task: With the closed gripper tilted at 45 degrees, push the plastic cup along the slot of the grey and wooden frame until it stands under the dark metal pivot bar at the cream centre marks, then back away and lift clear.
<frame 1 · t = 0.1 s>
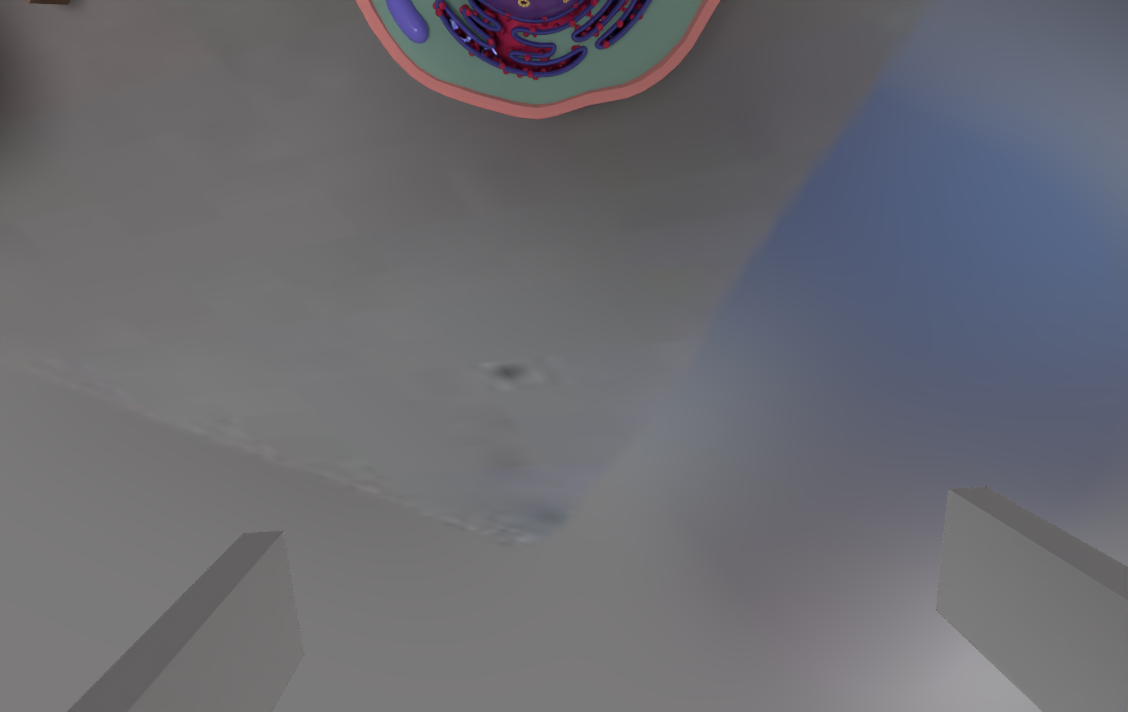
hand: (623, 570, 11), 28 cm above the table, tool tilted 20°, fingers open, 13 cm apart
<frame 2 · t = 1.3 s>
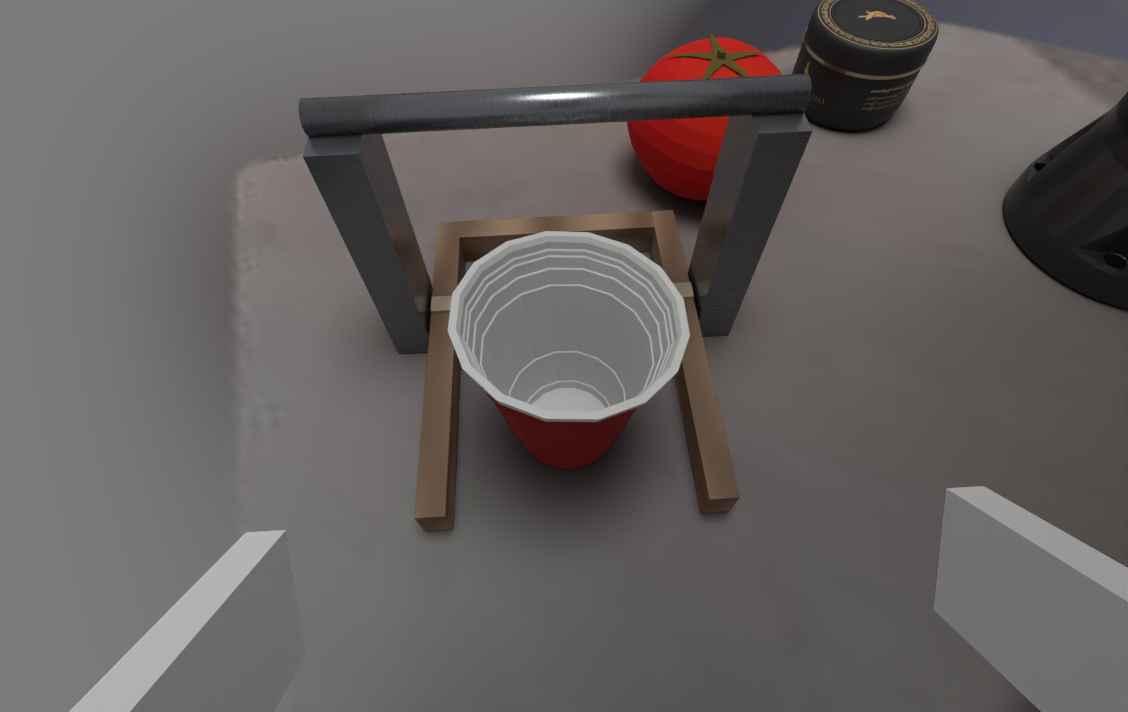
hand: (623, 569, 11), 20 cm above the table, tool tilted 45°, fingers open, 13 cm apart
grey and wooden frame: (562, 320, 39), on the table
tomato: (696, 178, 47), on the table
plastic cup: (570, 426, 35), on the table
jar: (838, 104, 52), on the table
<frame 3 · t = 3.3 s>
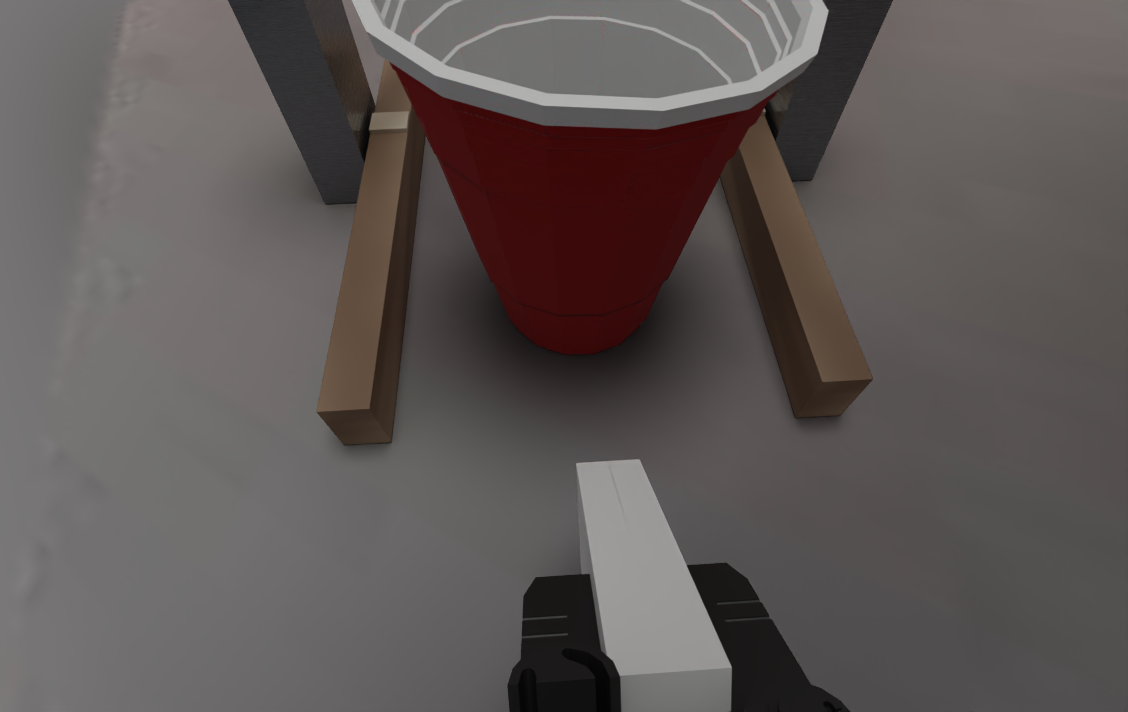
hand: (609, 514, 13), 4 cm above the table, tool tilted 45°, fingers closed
grey and wooden frame: (568, 163, 27), on the table
plastic cup: (581, 297, 23), on the table
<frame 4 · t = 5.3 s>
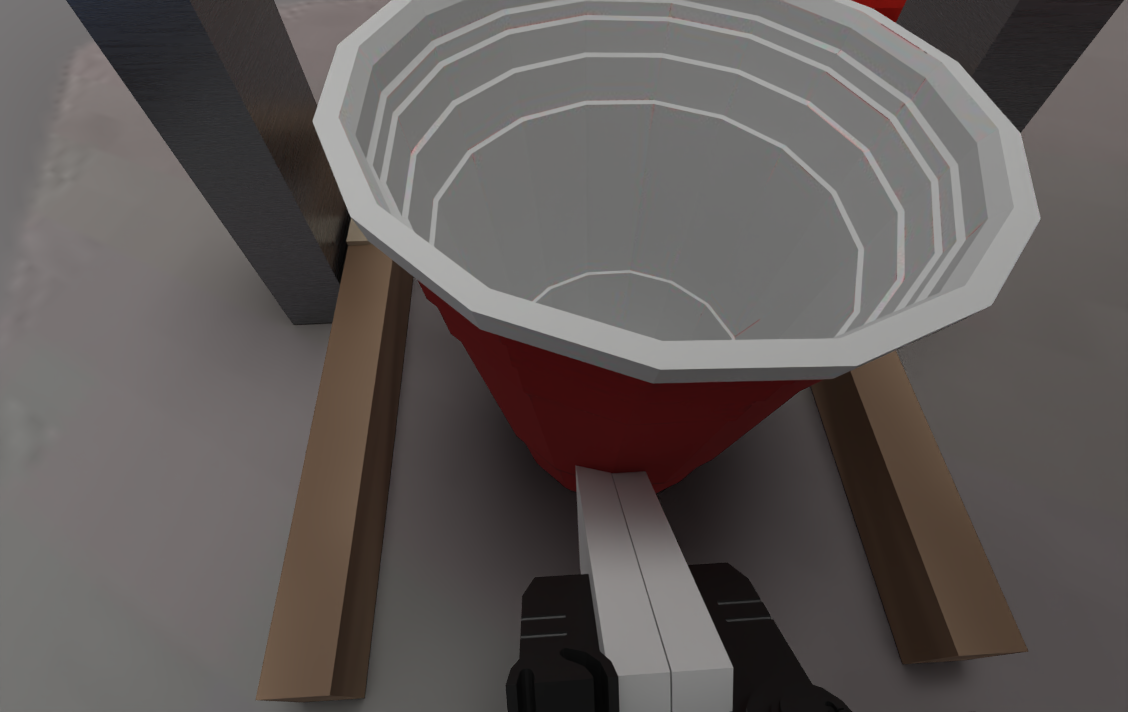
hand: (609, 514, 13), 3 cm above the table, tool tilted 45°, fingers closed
grey and wooden frame: (592, 269, 22), on the table
tomato: (795, 63, 30), on the table
plastic cup: (617, 417, 19), on the table, touching gripper
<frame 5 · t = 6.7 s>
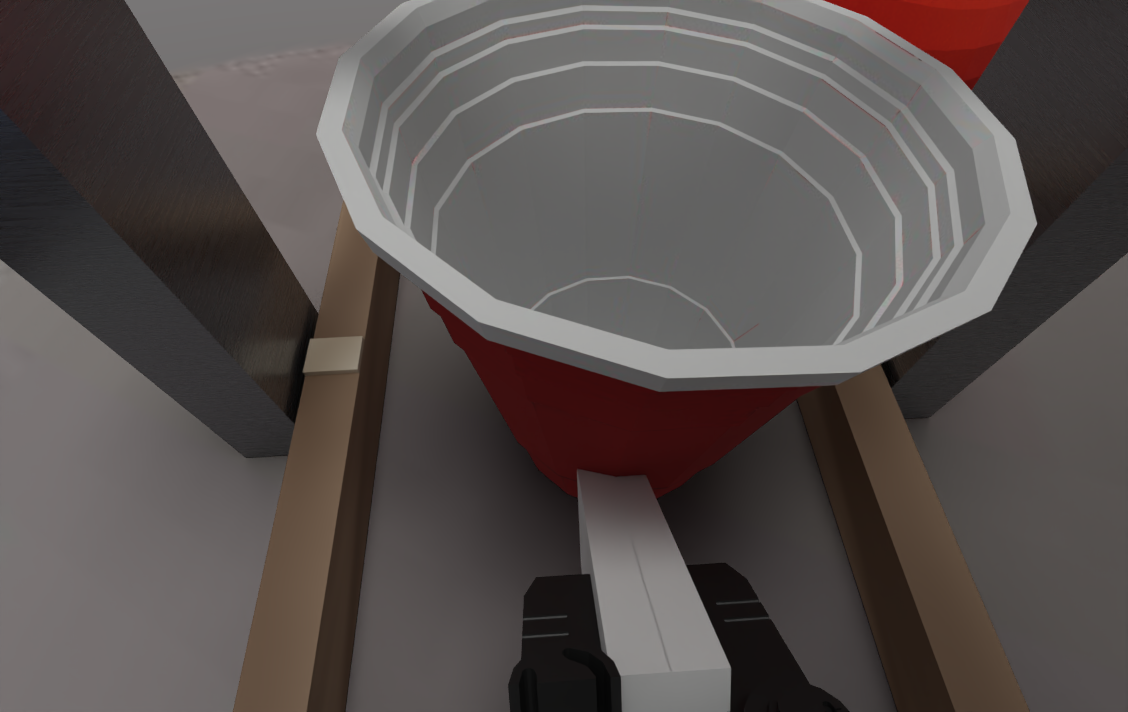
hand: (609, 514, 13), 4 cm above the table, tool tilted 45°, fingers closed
grey and wooden frame: (588, 383, 19), on the table
tomato: (808, 124, 28), on the table
plastic cup: (617, 422, 19), on the table, touching gripper
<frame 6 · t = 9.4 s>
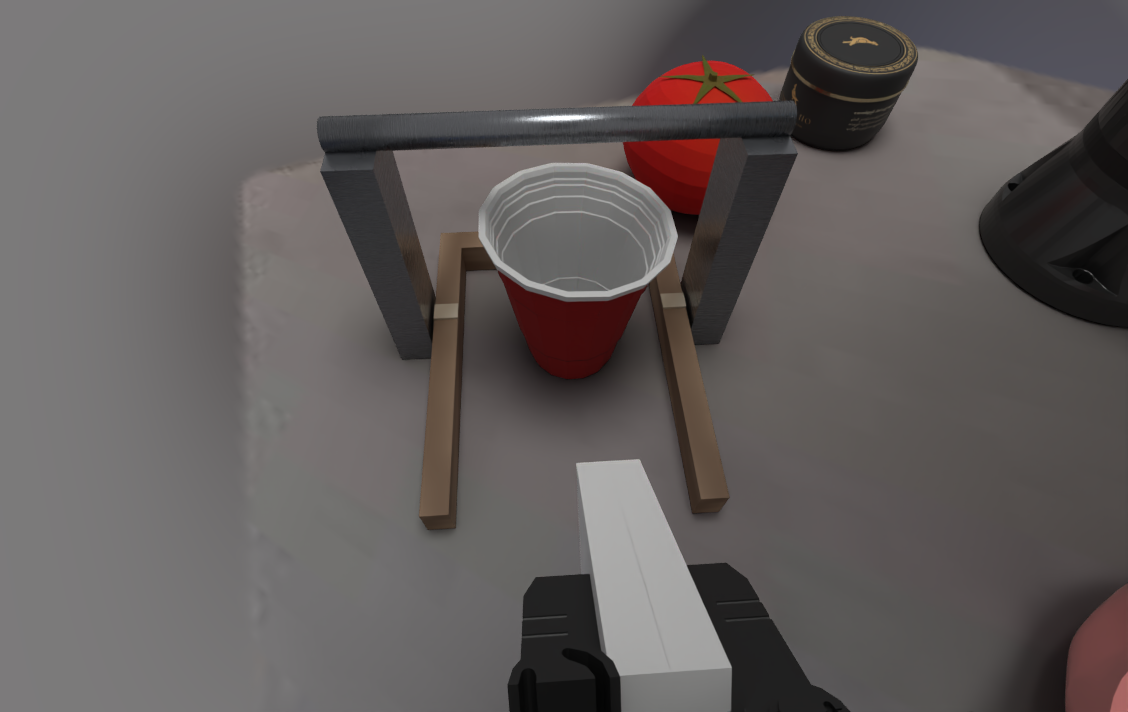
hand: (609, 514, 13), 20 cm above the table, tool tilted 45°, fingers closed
grey and wooden frame: (560, 328, 41), on the table
tomato: (688, 193, 49), on the table
plastic cup: (573, 345, 40), on the table
jar: (824, 124, 55), on the table
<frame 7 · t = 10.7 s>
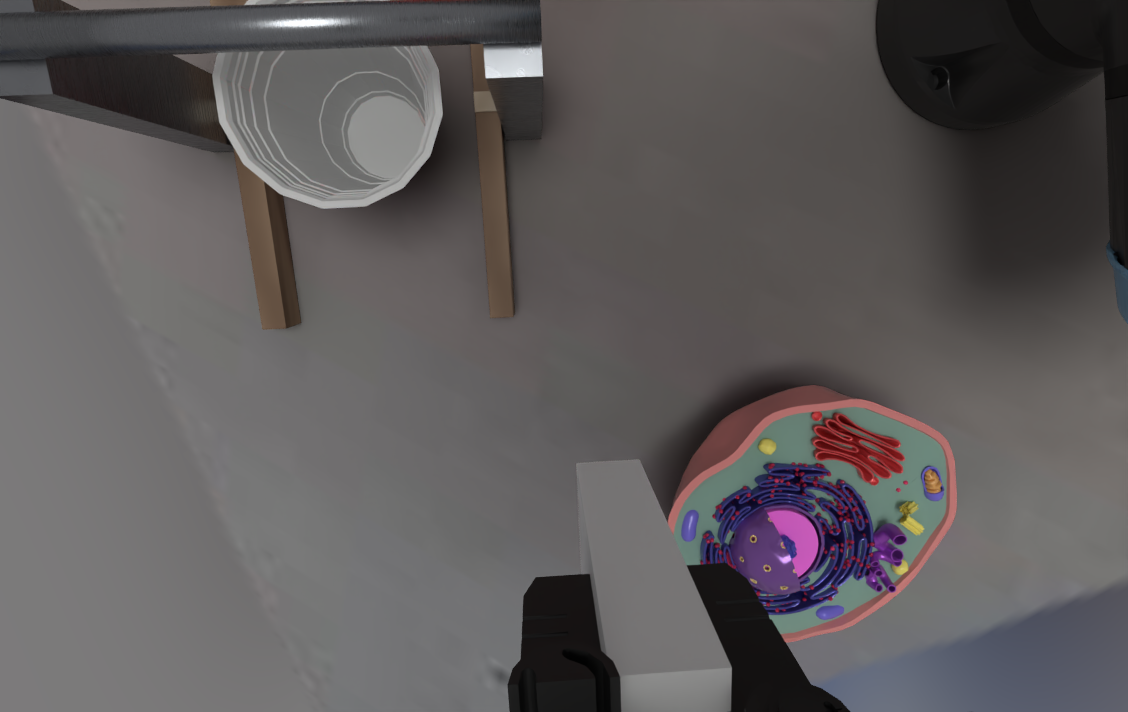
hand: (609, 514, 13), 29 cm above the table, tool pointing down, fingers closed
grey and wooden frame: (375, 114, 39), on the table
cell model: (765, 471, 46), on the table
plastic cup: (391, 136, 39), on the table
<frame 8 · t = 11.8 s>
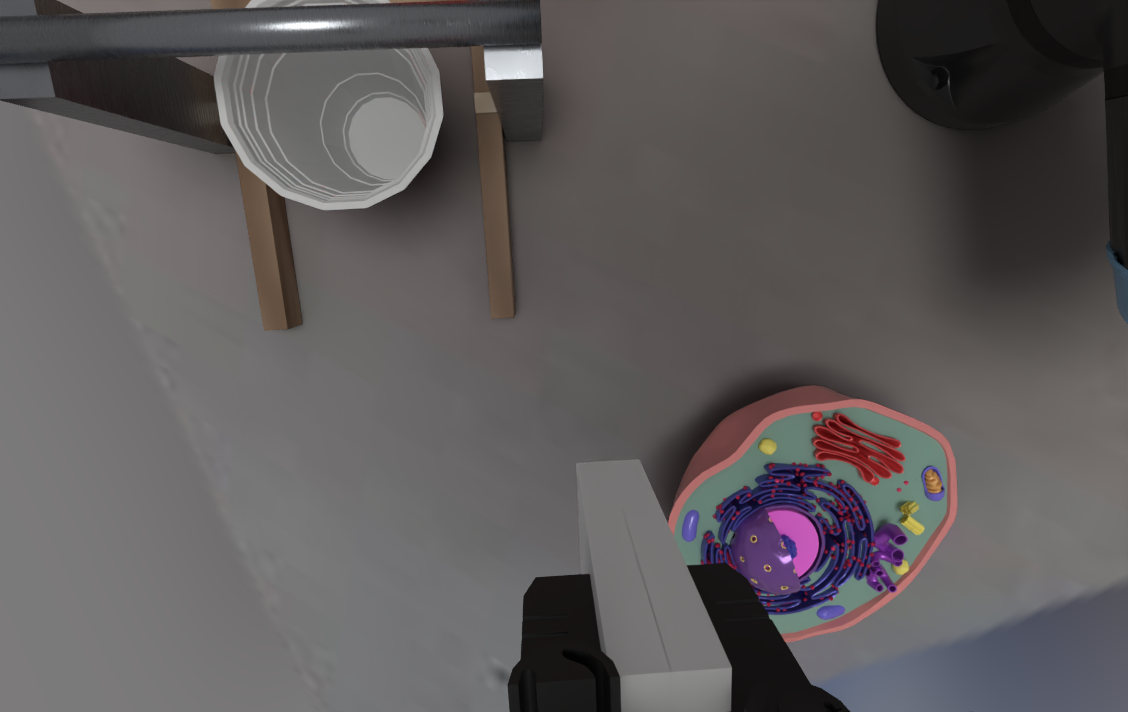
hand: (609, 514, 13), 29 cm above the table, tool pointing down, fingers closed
grey and wooden frame: (376, 116, 39), on the table
cell model: (766, 471, 46), on the table
plastic cup: (392, 137, 39), on the table
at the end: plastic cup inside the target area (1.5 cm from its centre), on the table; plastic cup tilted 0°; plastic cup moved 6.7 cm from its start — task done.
